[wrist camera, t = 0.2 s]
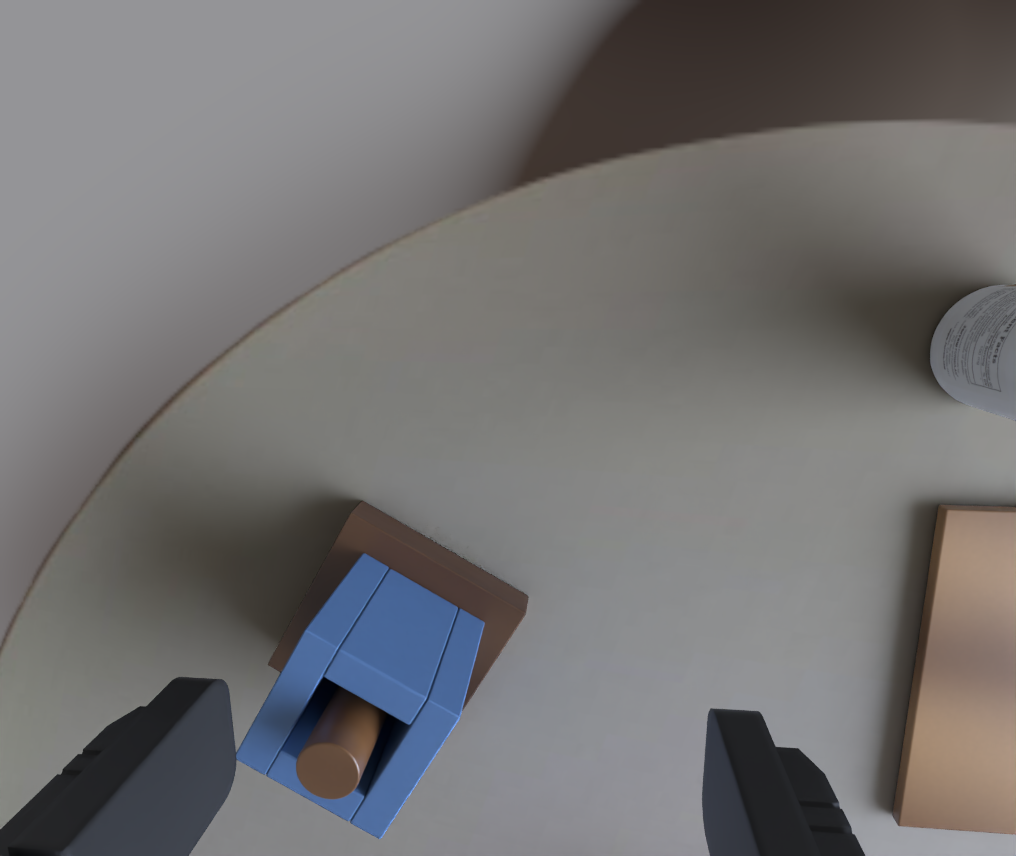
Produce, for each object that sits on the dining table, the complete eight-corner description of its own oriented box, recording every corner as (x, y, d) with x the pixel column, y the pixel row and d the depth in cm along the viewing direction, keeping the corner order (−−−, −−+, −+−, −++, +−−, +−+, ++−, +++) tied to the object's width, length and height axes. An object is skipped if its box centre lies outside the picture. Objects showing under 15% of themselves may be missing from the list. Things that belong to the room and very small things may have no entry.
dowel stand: (362, 499, 28) (265, 603, 19) (529, 595, 28) (508, 741, 19) (281, 646, 30) (160, 800, 21) (438, 735, 30) (382, 923, 21)
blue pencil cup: (363, 551, 27) (304, 629, 21) (485, 621, 27) (460, 718, 21) (303, 657, 28) (232, 758, 22) (420, 724, 28) (380, 840, 22)
